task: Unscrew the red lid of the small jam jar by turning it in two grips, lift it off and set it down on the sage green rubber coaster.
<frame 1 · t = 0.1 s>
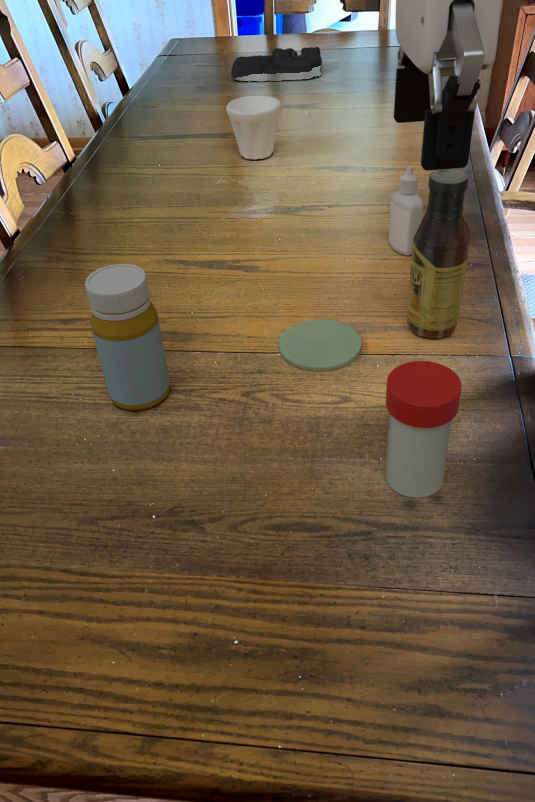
hand: (427, 142, 54), 31 cm above the table, tool pointing down, fingers open, 9 cm apart
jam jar: (414, 476, 69), on the table
eye dropper bottle: (403, 248, 104), on the table
coaster: (320, 346, 87), on the table
sauce bottle: (431, 329, 88), on the table
cap: (423, 385, 62), point 11 cm above the table, screwed on, not yet turned
bottle: (141, 395, 82), on the table
black sneaker: (277, 73, 175), on the table
cup: (257, 155, 135), on the table
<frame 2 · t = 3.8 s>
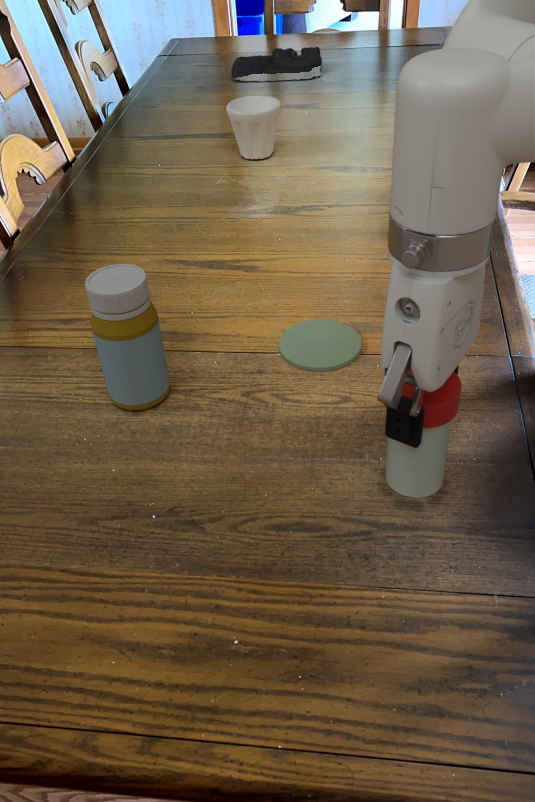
hand: (420, 416, 64), 8 cm above the table, tool pointing down, fingers closed on cap, 6 cm apart
cap: (423, 385, 62), point 11 cm above the table, screwed on, not yet turned, touching gripper
everything else where it was.
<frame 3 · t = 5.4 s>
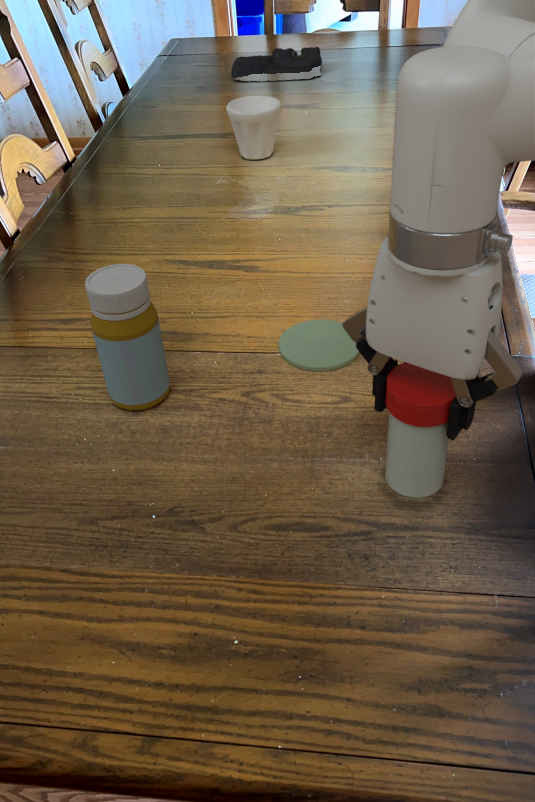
hand: (420, 415, 64), 8 cm above the table, tool pointing down, fingers closed on cap, 6 cm apart
cap: (423, 384, 62), point 11 cm above the table, turned 89° so far, risen 0.1 cm, still on its thread, touching gripper
everything else where it was.
when the fingers open (7 cm above the table, at t = 6.8 s): cap stays where it is, point 12 cm above the table.
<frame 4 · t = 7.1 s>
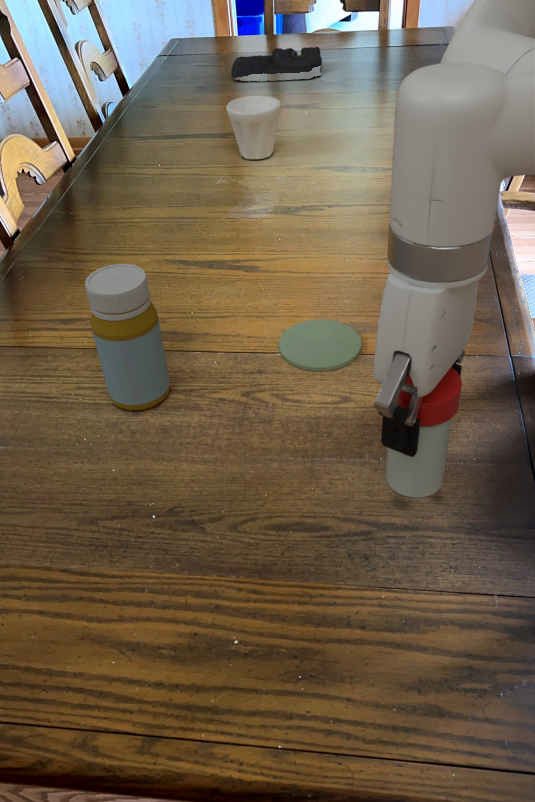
hand: (420, 420, 65), 7 cm above the table, tool pointing down, fingers open, 7 cm apart
cap: (423, 383, 62), point 12 cm above the table, turned 180° so far, risen 0.2 cm, still on its thread
everything else where it was.
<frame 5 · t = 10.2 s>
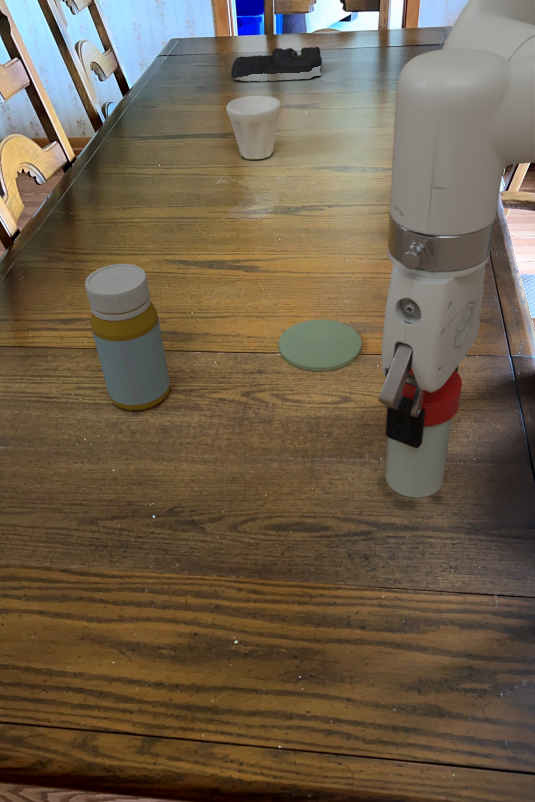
hand: (420, 416, 64), 8 cm above the table, tool pointing down, fingers closed on cap, 6 cm apart
cap: (423, 383, 62), point 12 cm above the table, turned 180° so far, risen 0.2 cm, still on its thread, touching gripper
everything else where it was.
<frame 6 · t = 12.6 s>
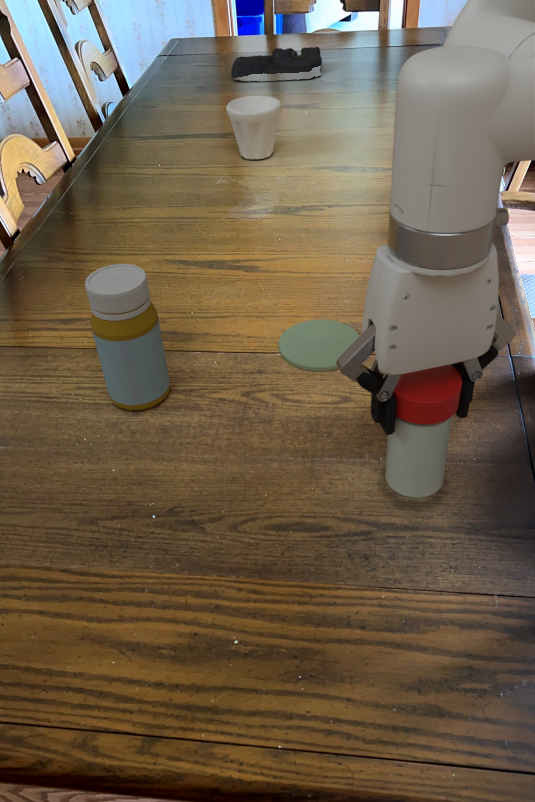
hand: (420, 415, 64), 8 cm above the table, tool pointing down, fingers closed on cap, 6 cm apart
cap: (423, 382, 62), point 12 cm above the table, turned 318° so far, risen 0.4 cm, still on its thread, touching gripper
everything else where it was.
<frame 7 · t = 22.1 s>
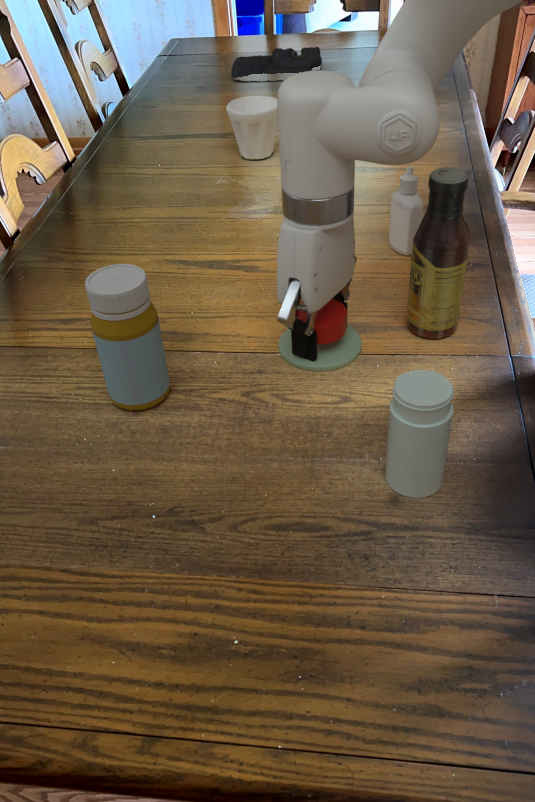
hand: (320, 340, 86), 1 cm above the table, tool pointing down, fingers closed on cap, 6 cm apart
cap: (319, 314, 84), point 5 cm above the table, off its thread, touching gripper
everything else where it was.
when the fingers open (2 cm above the table, at t = 28.3 s): cap drops 3 cm, resting on coaster.
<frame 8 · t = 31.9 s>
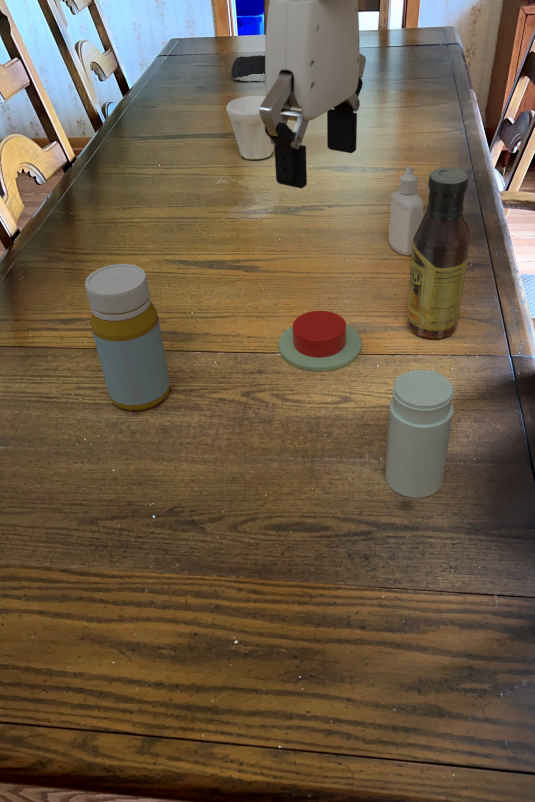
hand: (317, 166, 72), 22 cm above the table, tool pointing down, fingers open, 9 cm apart
cap: (319, 327, 85), point 3 cm above the table, off its thread, touching coaster
everything else where it was.
at the end: cap came off its thread; cap inside the target area on the coaster (0.1 cm from its centre), point 2.7 cm above the coaster's base; the gripper is holding nothing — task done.
